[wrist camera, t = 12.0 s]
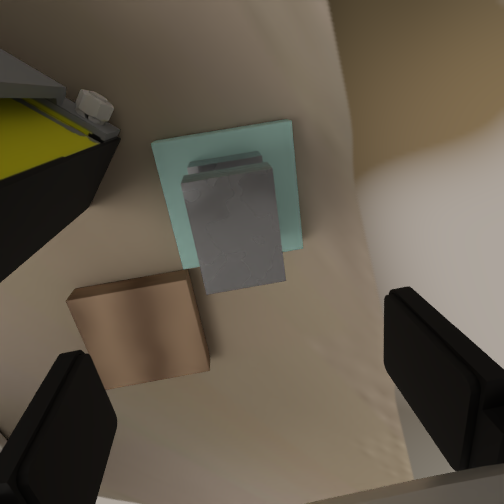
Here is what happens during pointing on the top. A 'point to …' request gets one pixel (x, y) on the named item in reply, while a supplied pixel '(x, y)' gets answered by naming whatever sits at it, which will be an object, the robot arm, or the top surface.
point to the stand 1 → (141, 328)
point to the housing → (234, 221)
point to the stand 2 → (223, 144)
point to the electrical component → (46, 158)
